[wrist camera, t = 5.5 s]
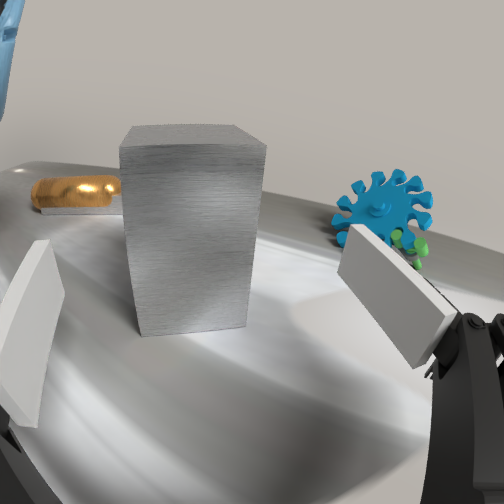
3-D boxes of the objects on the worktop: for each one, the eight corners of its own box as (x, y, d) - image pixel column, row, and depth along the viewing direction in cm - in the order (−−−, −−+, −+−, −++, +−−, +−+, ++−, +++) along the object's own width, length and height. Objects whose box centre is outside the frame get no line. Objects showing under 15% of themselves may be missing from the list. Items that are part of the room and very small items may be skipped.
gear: (313, 207, 30) (389, 150, 28) (337, 239, 34) (405, 188, 31) (365, 284, 22) (462, 209, 19) (385, 313, 26) (467, 249, 23)
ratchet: (21, 223, 25) (12, 178, 23) (48, 197, 31) (43, 159, 29) (222, 225, 28) (225, 173, 26) (221, 197, 34) (224, 155, 32)
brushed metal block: (141, 336, 16) (119, 147, 11) (141, 274, 21) (132, 126, 15) (245, 326, 17) (266, 145, 12) (223, 268, 22) (234, 125, 17)
